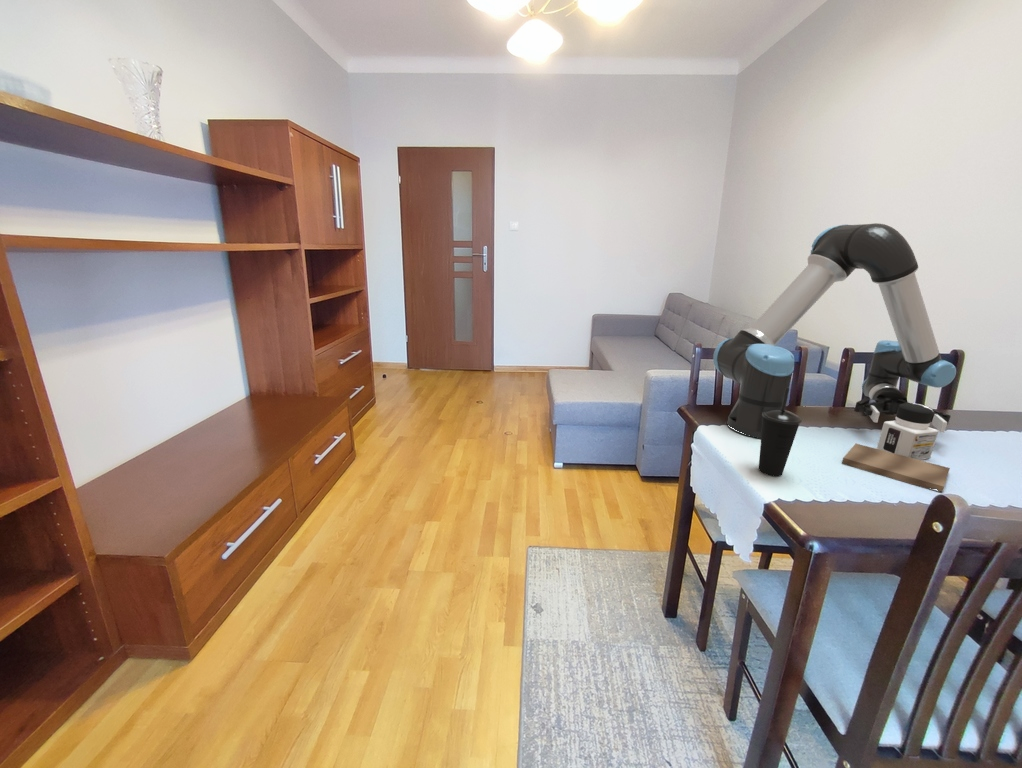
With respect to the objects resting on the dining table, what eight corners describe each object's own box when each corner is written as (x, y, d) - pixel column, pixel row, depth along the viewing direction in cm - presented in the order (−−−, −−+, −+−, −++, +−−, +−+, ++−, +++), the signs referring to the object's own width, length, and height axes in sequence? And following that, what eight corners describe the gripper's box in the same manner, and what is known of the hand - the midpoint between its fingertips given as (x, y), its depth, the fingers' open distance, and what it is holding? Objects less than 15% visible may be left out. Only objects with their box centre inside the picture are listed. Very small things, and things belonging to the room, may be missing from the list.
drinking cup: (779, 465, 108) (797, 384, 102) (795, 480, 101) (815, 394, 95) (746, 462, 109) (761, 382, 103) (759, 478, 102) (777, 392, 96)
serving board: (841, 463, 110) (843, 457, 109) (854, 448, 118) (855, 443, 118) (941, 492, 97) (943, 486, 97) (947, 473, 106) (949, 468, 105)
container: (907, 462, 111) (922, 412, 108) (875, 448, 119) (889, 401, 115) (930, 459, 113) (946, 409, 110) (897, 446, 121) (911, 399, 117)
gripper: (938, 418, 131) (969, 445, 113) (834, 404, 141) (847, 426, 123) (945, 393, 129) (978, 417, 111) (840, 380, 139) (854, 400, 121)
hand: (909, 422), depth 117 cm, fingers open, 13 cm apart
